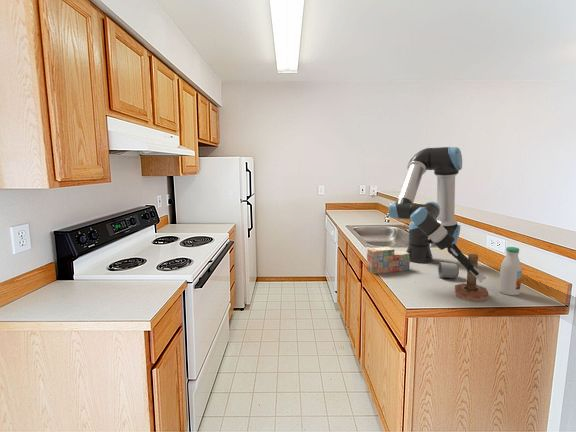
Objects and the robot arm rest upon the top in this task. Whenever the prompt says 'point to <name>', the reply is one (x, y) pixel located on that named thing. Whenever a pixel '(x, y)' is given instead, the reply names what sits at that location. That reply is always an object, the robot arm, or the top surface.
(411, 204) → the robot arm
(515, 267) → the milk bottle
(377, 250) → the stack of blocks
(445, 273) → the ceramic mug
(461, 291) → the terracotta faceted ring
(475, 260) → the dowel
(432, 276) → the top surface
